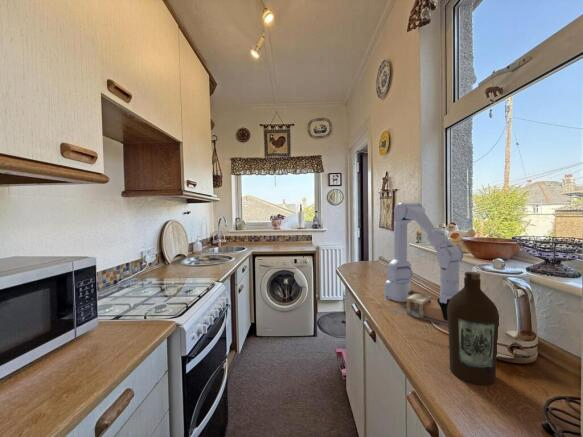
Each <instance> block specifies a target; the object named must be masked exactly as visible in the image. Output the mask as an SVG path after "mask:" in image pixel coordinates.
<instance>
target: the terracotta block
mask: <svg viewBox="0 0 583 437" xmlns="http://www.w3.org/2000/svg"><path fill="white" fill-rule="evenodd" d="M418 308H419V315H420V304H419V303H418ZM424 316H426V317H430V318H434V319H438V320H442V321H445V322H448V321H447V320H444V318H443V314H442V310H441V307H440V305H439V304H436V303H432V302H431V303H427V302H426V303H424Z"/></svg>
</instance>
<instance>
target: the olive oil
mask: <svg viewBox="0 0 583 437" xmlns="http://www.w3.org/2000/svg"><path fill="white" fill-rule="evenodd" d="M480 277H481V273H479V272H475V271H465V272H464V278H463V285H464V286H463V288H461V289H459V292H458V293H456V294H455V295H454V296H453V297H452V298H451V299H450V301H449V303H448V307H447V315H448V325H447V327H448V329H447V332H448V346H449V347H448V348H449V352H448V353H449V356H448V357H449V369H450V372H451V373H452V374H453V375H454V376H456V377H457V378H459V379H461V381H462V380H463V381H465V382H467V383H471V384H474V385H480V386H489V385H491V384H494V383H495V381H496V375H497V374H496V373H497V357H496V355H497V340H498V327H499V316H500V315H499V310H498V308H497V306H496V304H495V303H494V302H493V301H492V299H491V298H490V297H489V296H487V294H486V293H485V292H483V290H482V288H481V283H482V282H481V281H482V280H481V278H480Z"/></svg>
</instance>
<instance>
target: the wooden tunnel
mask: <svg viewBox="0 0 583 437" xmlns="http://www.w3.org/2000/svg"><path fill="white" fill-rule="evenodd" d="M426 302H427V303H432V296H430V295H426V294H420V293H416V292H415V293H413V294H411V295H410V296H409V295H408V298H406V302H405V303H406V304H405V305H406V306H405V307H406V308H405V309H406V310H405V311H406V312H405V313H406V314H409V315H410V314H411V309H412V303H413V307H414V309H418V308H419V304H420V317H421V318H424V303H426ZM406 314H405V315H406ZM409 315H408V316H409ZM421 318H420V319H421Z"/></svg>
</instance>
